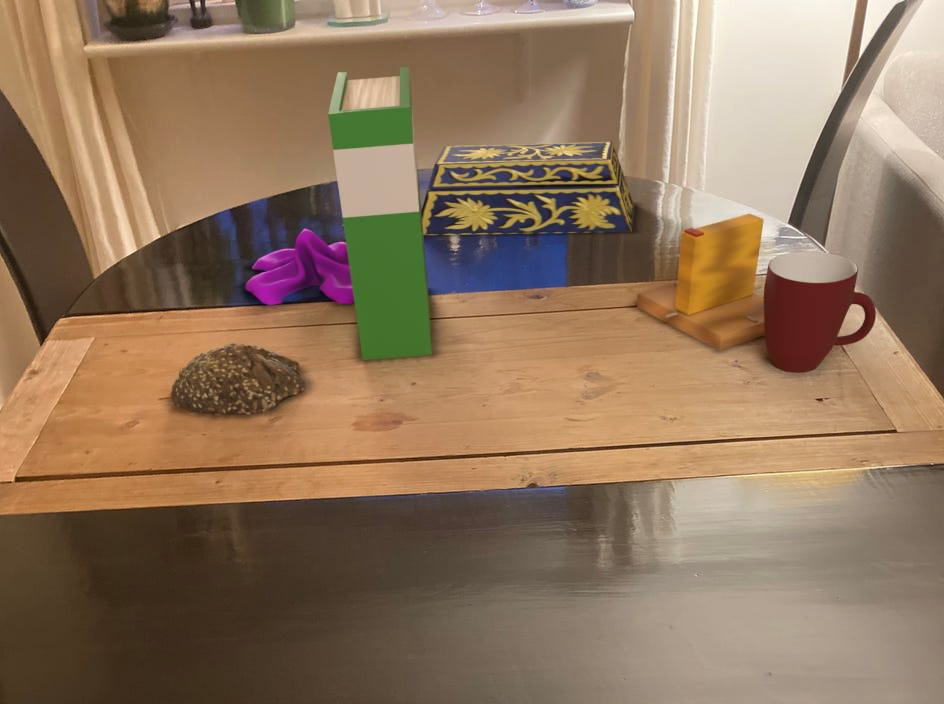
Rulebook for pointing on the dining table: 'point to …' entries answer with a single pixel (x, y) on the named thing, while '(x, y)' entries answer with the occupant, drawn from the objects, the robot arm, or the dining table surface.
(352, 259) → the hardback book
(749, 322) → the board
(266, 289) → the cloth
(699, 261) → the bar
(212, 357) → the bread roll
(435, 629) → the dining table surface
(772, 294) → the mug
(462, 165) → the decorative box
